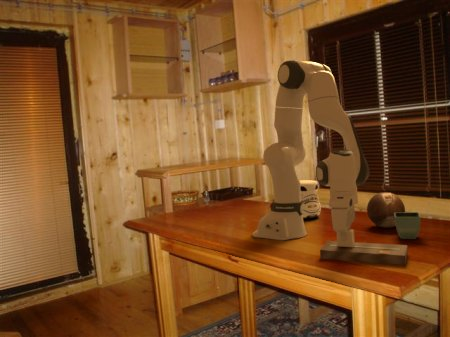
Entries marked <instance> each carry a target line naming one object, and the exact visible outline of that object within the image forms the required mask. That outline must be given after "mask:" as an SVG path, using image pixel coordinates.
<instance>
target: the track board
mask: <svg viewBox="0 0 450 337" xmlns="http://www.w3.org/2000/svg"><path fill="white" fill-rule="evenodd" d="M319 252H320V254H319V256H320V260H331V261H332V260H333V261H343V262H344V261H345V262H358V263H359V262H360V263H369V264H370V263H372V264H384V265H385V264H387V265H397V266H406V265H407V260H408V255H407V254H408V253H409V252H408V245H407V244H392V243H391V244H390V243H373V242H372V243H370V242H355V241H354V246H353V247H342V246H337V240H327V242H326V243H325V244H323V246H322V247H321V248H320V250H319Z"/></svg>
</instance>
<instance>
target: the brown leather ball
mask: <svg viewBox="0 0 450 337" xmlns="http://www.w3.org/2000/svg"><path fill="white" fill-rule="evenodd" d="M396 212H406V208H405V204H404V201H403V200H402V199H401V198H400V196H398V195H396V194H395V193H392V192H388V191H382V192H379V193H375V195H373V196H372V197H370V199H369V201H368V202H367V205H366V213H367V216H368V219H370V221H371V222H372V223H373V224H374V225H376V226H377V227H380V228H384V229H385V228H387V229H389V228H390V229H391V228H393V227H396V223H395V216H394V213H396Z"/></svg>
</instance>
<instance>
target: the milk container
mask: <svg viewBox="0 0 450 337" xmlns="http://www.w3.org/2000/svg"><path fill="white" fill-rule="evenodd" d="M298 180H299V179H298ZM299 181H300V188H301V201H302V205H303V214H302V216H303V220H311V219H315V218H318V217H319V216H320V215H321V211H322V208H321V203H320V199H319V184H318V181H316V180H314V179H313V180H311V179H309V180H308V179H305V180H303V179H302V180H301V179H300V180H299Z"/></svg>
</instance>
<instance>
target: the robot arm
mask: <svg viewBox="0 0 450 337" xmlns="http://www.w3.org/2000/svg"><path fill="white" fill-rule="evenodd" d="M277 81H278V83H279V87H278V89H277V94H276V99H275V107H274V109H275V110H274V119H273V120H274V122H273V127H274V129H275V131H276V135H277V142H275V143H272V144H270V145H269V146H267V147H266V148H265V150H264V152H263V154H262V158H263V162H264V164H265V165H266V167H267V168H268V170H269V173H270V176H271V181H272V186H273V199H274V201H272V202H271V203H270V204H269V205H268V208H270V211H269V212H267V213H266V214H265V215H264V216H263V217H261V218H260V219H259V220H258V224H257V229H256V230H255V231H254V232H252V237H254V238H259V239H260V238H262V239H270V240H276V241H277V240H278V241H287V240H292V239H299V238H303V237H306V236H307V235H308V233H307V230H306V227H305V223H304V219H303V216H302V214H303V205H302V201H301V188H300V181H299V178H298V175H297V173H296V168H295V167H297V166H299V165H300V164H301V163H302V162H303V161H304V160H305V158H306V148H305V147H304V141H303V133H302V124H303V108H304V98H305V95H306V98H307V106H308V107H307V108H308V112H309V116H310V118H311V120H312V121H313V122H314V123H316V125H319V126H321V127H323V128H327V129H329V130H332V131H335V132H337V133H338V134H340V135H341V138H342V139H343V143H344V146H345V149H335V150H332V151H330V152H329V156H328V157H326V158H325V159H323V160H320V161H319V162H318V164H316V167H315V178H316V180H317V183H319V184H320V185H321V186H325V187H330V188H329V201H328V208H330V215H331V224H332V229H333V231H334V232H340V236H341V241H344V242H345V241H346V240H347V235H346V231H347V229H351V226H352V223H353V222H354V221H355V219H356V210H355V205H357V204H358V203H359V201H358V187H357V186H361V185H363V184H364V183H365V182H366V181H367V180H368V179H369V176H370V166H369V164H368V162H367V159H366V157H365V154H364V152H363V149H362V146H361V143H360V139H359V137H358V133H357V130H356V127H355V125H354V121H353V119H352V117H351V115H350V114H348V113H346V112H345V111H344V110H345V109H344V108H343V107H342V104H341V102H340V96H339V90H338V86H337V83H336V80H335V77H334V75H333V74H332V69H331V68H330V67H329V66H327V65H325V64H323V63H318V62H314V61H311V60H310V61H308V60H306V61H305V60H303V61H302V60H294V59H293V60H292V59H291V60H286V61H284V62H282V63H281V65H280V66H279V68H278V71H277Z"/></svg>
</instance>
